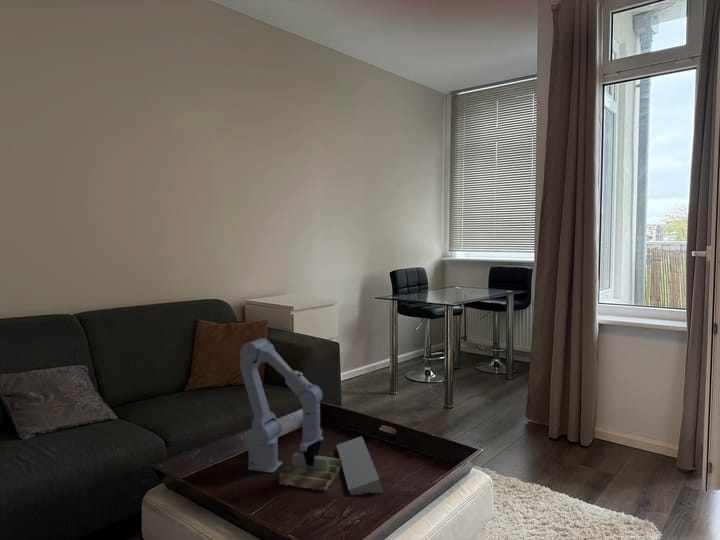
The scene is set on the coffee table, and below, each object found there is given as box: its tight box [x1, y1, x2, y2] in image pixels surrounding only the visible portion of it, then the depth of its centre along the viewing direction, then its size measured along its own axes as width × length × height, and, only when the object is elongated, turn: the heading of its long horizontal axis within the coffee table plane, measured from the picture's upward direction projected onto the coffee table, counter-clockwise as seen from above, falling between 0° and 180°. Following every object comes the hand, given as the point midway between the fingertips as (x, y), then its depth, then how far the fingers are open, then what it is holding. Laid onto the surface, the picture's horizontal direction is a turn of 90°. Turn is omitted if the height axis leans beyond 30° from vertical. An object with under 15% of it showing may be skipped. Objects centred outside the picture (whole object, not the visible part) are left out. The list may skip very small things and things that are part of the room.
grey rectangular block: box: [336, 435, 383, 496], centre depth 172 cm, size 34×5×10 cm
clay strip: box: [292, 452, 330, 472], centre depth 167 cm, size 12×2×5 cm, turn 74°
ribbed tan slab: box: [278, 457, 343, 492], centre depth 167 cm, size 16×17×3 cm
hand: (311, 463), depth 167 cm, fingers closed on clay strip, 2 cm apart
